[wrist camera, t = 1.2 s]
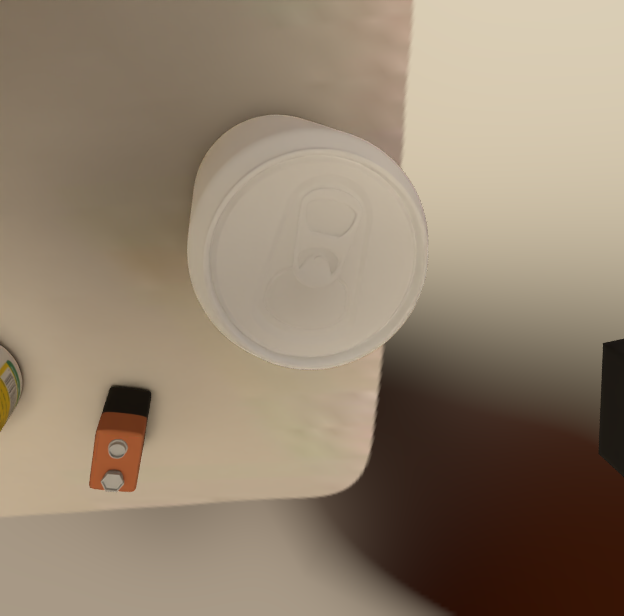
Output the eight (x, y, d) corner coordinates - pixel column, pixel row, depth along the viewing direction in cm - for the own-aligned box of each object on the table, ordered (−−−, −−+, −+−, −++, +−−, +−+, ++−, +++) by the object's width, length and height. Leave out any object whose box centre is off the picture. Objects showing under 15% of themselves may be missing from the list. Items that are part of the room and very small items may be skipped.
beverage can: (180, 260, 30) (164, 364, 19) (210, 94, 27) (213, 98, 16) (332, 289, 32) (401, 399, 20) (373, 136, 29) (477, 166, 18)
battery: (103, 438, 32) (85, 496, 28) (110, 383, 31) (93, 434, 27) (143, 442, 33) (133, 500, 28) (152, 388, 32) (143, 440, 27)
